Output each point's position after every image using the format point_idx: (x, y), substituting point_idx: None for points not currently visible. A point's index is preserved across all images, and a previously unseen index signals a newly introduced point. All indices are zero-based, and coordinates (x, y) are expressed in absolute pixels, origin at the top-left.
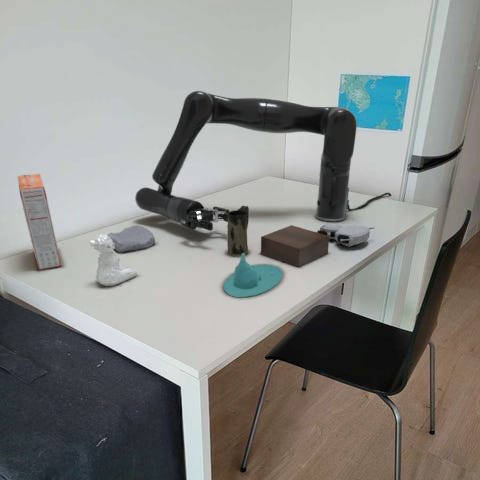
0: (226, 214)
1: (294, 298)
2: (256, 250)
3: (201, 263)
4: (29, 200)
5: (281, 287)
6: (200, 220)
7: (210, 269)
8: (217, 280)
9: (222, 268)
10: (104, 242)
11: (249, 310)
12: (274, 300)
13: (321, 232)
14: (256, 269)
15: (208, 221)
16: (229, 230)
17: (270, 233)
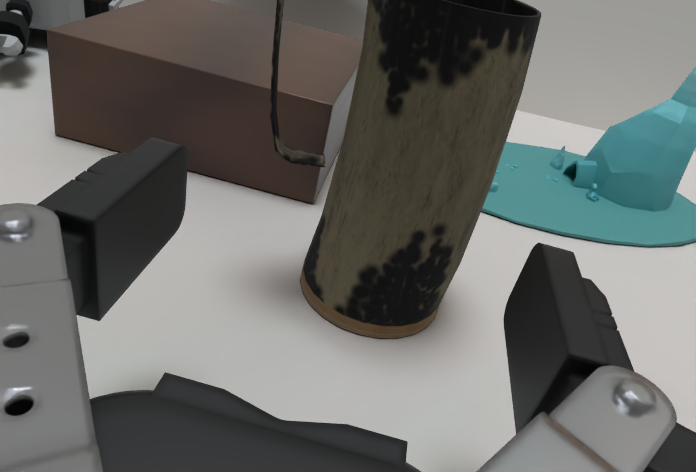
0: (125, 196)
1: (541, 122)
2: (272, 225)
3: (683, 404)
4: None
5: (521, 139)
6: (633, 377)
7: (669, 330)
8: (693, 271)
9: (601, 290)
10: None
11: (689, 174)
12: (594, 145)
13: (23, 20)
14: (502, 180)
15: (553, 277)
16: (502, 150)
17: (254, 82)
